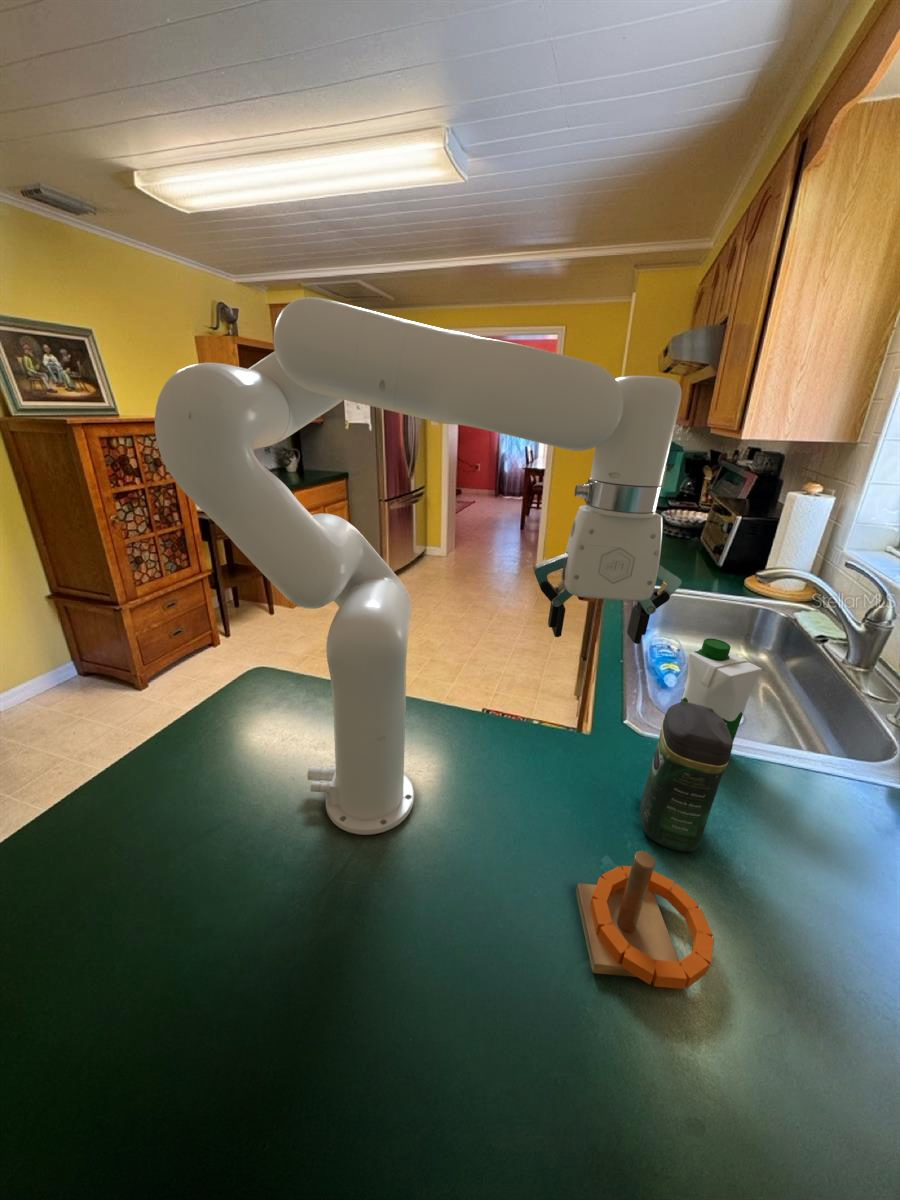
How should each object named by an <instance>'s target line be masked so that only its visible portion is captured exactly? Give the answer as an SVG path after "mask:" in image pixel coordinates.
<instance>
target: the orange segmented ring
mask: <svg viewBox="0 0 900 1200" xmlns="http://www.w3.org/2000/svg"><path fill="white" fill-rule="evenodd" d="M631 867H632V865H621V866H620V865H619V866H617V867H614V868H612V869H611V870H608V871H605V872H604V873H603V874H601V876H600V877H598V881H597V883H596V884H595V885H596V888H595V890H594V893H593V896H592V900H591V904H590V905H591V907H590V909H591V914H592V918H593V922H594V927H595V931H596V934H599V935H598V938H599V940H600V941H601V942H602V944H603V945H604V946H605V948H606V949H607V950H608V952H609V953H610V954H611V955H612V957H613V958H614V959H615V961H616V962H617V963H619V962H621V961H622V960H623V961H622V964H621V967H622V968H624V969H625V970H627V971H629V972H630V973H632V974H633V975H635V976H637V977H636V978H638V979H640V980H641V981H643V982H645V983H646V984H648V985H652V983H653V986H654V987H659V988H668V989H669V988H670V989H678V990H679V989H680V990H684V989H685V988H686V989H688V988H689V987H691V986H692V985H694V984H695V983H696V982H698V981H699V980H700V979H702V978H703V977H705V976H706V975H707V972H708V971H709V969H710V966H711V964H712V959H713V950H714V941H715V938H714V937H713V936H714V934H713V932H712V929H711V926H710V925H709V922H708V919H707V918H706V916H705V913H704V912H703V909H702V908H699V906H700V905H699V903H697V901H696V900H694V899H693V898H692V896H691V895H690V894H689V893H687V892H686V890H684V889H683V887H682V886H680V885H679V883H676V884H675V881H674V880H672V879H670V878H668V877H666V876H665V875H663V874H660V873H659V872H656V871H655V870H653V873H652V876H651V880H650V883H649V886H648V889H647V890H649V891H651V892H653V893H654V895H657V896H659V897H661V898H663V899H665V900H666V901H667V902H668V903H669V904H670V905H671V906H672V907H673V908H674V909H675V910H676V911H677V913H678V914H680V916H682V917H683V918H684V921H685V923H686V925H687V927H688V930H689V933H690V935H691V937H692V940H693V942H692V948H691V950H692V951H691V952H690V953H689V954H688V955H686V956H685V957H684V958H682V959H680V960H679V962H676V961H665V960H655V959H653V958H651V957H650V956H648V955H646V954H645V953H643V952H641V951H639V950H638V949H636V948H634V947H633V946H631V945H630V944H629V943H628V942H627V941H626V939H625V938H624V937H623V936H622V934H621V933H620V932H619V931H618V929H617V928H616V927H615V926H614V924H613V923H612V919H611V915H610V911H609V908H608V904H607V903H608V900H609V897H610V894H612V893H614V892H616V891H618V890H620V889H622V888H623V887H626V885H627V881H628V878H629V874H630V871H631Z"/></svg>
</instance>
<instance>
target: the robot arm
mask: <svg viewBox="0 0 900 1200" xmlns="http://www.w3.org/2000/svg"><path fill="white" fill-rule="evenodd" d="M273 349H274V351H273V352H271V353H270V354H268V355H267V356H265V357H264V358H262V359H260V360H259V361H258V362H256V363H255V364H253V365H252V366H250V367H249V368H245V367H240V366H236V365H232V364H227V363H221V362H220V363H219V362H201V363H200V362H199V363H195V364H190V365H188V366H185V367H183V368H181V369H178V370H177V371H176V372H175V373H173V374H172V375H171V376H170V377H169V378H168V379H167V381H166V382H165V383H164V385H163V387H162V388H161V390H160V393H159V396H158V398H157V401H156V406H155V411H154V412H155V413H154V433H155V439H156V443H157V444H156V445H157V448H158V451H159V455H160V456H161V459H162V461H163V464H164V466H165V468H166V469H167V471H168V473H169V474H170V475H171V478H172V479H173V480H174V482H175V484H177V486H178V487H179V488H180V489H181V491H182V492H183V493H184V494H185V495H186V496H187V497H188V498H189V499H190V500H191V501H192V502H193V503H194V504H195V505H196V506H197V507H198V508H199V509H200V510H201V511H202V512H203V513H204V514H206V516H208V518H209V519H211V520H212V521H213V522H214V523H215V524H216V526H217V527H219V529H221V531H223V532H224V534H225V535H226V536H227V537H228V538H229V539H230V540H231V541H232V542H233V543H234V545H235V546H236V547H237V548H238V549H239V550H240V551H241V552H242V554H244V556H245V557H246V558H247V559H248V560H249V561H250V562H251V563H252V564H253V565H254V566H255V567H256V569H258V570H259V572H260V573H261V574H262V575H263V576H264V577H265V578H266V579H267V580H268V581H269V582H270V583H271V584H272V586H273V587H274V588H275V589H277V590H278V592H279V593H280V594H281V595H282V596H284V598H286V599H287V600H288V601H289V602H291V603H292V604H294V605H295V606H297V607H300V608H303V609H308V610H309V609H311V610H317V609H321V608H323V607H325V606H327V605H329V604H331V603H333V602H334V603H335V604H336V605H337V607H338V609H337V611H336V613H335V614H334V615H333V619H332V621H331V623H330V626H329V629H328V633H327V637H326V646H325V647H326V648H325V651H326V661H327V667H328V671H329V676H330V687H331V695H332V696H331V697H332V699H331V700H332V715H333V731H334V732H333V734H334V735H333V736H334V737H333V738H334V761H335V763H334V765H332V766H330V768H329V767H323V766H316V765H315V766H313V765H311V766H309V768H308V770H307V775H306V776H307V780H308V781H312V782H311V784H310V792H313V793H314V792H315V793H325V794H326V795H325V810H326V814H327V816H328V817H329V819H330V820H331V821H332V823H333V824H334V825H335V826H337V827H338V828H339V829H341V830H343V831H345V832H347V833H351V834H355V835H362V836H363V835H364V836H367V835H368V836H369V835H376V834H380V833H384V832H387V831H389V830H391V829H392V830H393V828H395V827H397V826H399V825H400V824H401V823H402V822H403V821H404V820H406V818H407V817H408V815H409V814H410V813H411V811H412V809H413V806H414V801H415V791H414V786H413V783H412V781H411V779H409V777H408V776H407V775H406V774H405V745H406V743H405V741H406V714H407V713H406V710H407V709H406V708H407V707H406V705H407V704H406V703H407V661H408V659H407V658H408V645H409V636H410V629H411V620H412V611H413V607H412V598H411V595H410V593H409V591H408V589H407V587H406V586H405V584H404V583H403V582H402V580H401V579H400V578H399V577H398V575H397V574H396V573H395V572H394V571H393V569H392V568H391V567H390V566H389V565H388V564H387V562H386V561H385V560H384V559H383V557H382V556H380V554H379V552H377V551H376V550H375V547H373V546H372V544H371V543H370V542H369V541H368V540H367V539H366V537H365V536H364V535H363V534H362V533H361V532H360V530H359V529H357V528H356V527H355V526H354V525H353V524H351V522H349V521H348V520H346V519H345V518H342V517H341V516H338V515H335V514H332V513H324V512H323V513H322V512H321V513H315V514H314V513H313V514H311V513H310V512H309V510H308V509H306V507H305V506H304V505H303V504H302V503H301V502H300V501H299V500H298V499H297V498H296V496H295V495H294V494H293V492H292V491H291V490H290V488H289V487H288V486H287V485H286V484H285V483H284V482H283V481H282V480H281V479H280V478H279V477H278V476H276V475H275V474H274V473H273V472H271V471H270V470H269V469H268V468H266V466H264V465H263V464H262V463H261V462H260V461H259V460H258V458H257V457H256V455H255V453H254V450H256V449H262V448H268V447H270V446H274V445H276V444H278V443H280V442H282V441H284V440H286V439H287V438H289V437H290V436H292V435H294V434H295V433H297V432H298V431H299V430H302V429H303V428H305V426H307V425H309V424H310V423H312V422H313V421H315V420H317V419H318V418H319V417H321V416H322V415H324V414H325V413H327V412H329V411H331V410H332V409H333V408H335V407H336V406H338V405H339V404H340V403H342V402H343V401H347V402H351V403H356V404H360V405H365V406H368V407H372V408H378V409H381V410H385V411H389V412H394V413H397V414H402V415H406V416H409V417H413V418H418V419H422V420H426V421H430V422H435V423H438V424H444V425H458V426H465V427H469V428H475V429H480V430H484V431H489V432H494V433H498V434H501V435H505V436H509V437H514V438H518V439H521V440H522V439H523V440H526V441H531V442H535V443H539V444H543V445H547V446H551V447H554V448H558V449H563V450H566V451H571V452H583V451H588V450H591V449H594V453H593V459H592V464H591V471H590V478H588V479H587V482H586V483H583V484H576V485H575V488H574V497H575V498H580V499H583V500H584V502H585V505H580V506H579V508H578V509H577V513H576V515H575V518H574V521H573V524H572V527H571V530H570V534H569V537H568V541H567V545H566V548H565V552H564V553H563V554H561V555H558V556H555V557H553V558H550V559H547V560H545V561H543V562H540V563H538V564H535V565H534V566H533V568H532V569H533V574H534V575H535V578H536V581H537V583H538V586H539V589H540V591H541V592H542V594H544V596H545V597H546V598H547V600H549V602H550V607H549V613H548V618H547V619H548V620H547V625H548V628H551V630H552V633H553V636H554V638H560V637H562V633H563V626H564V621H565V614H566V607H565V602H567V601H568V600H569V599H570V598H572V596H574V597H575V596H576V597H580V598H586V599H587V598H588V599H598V600H600V599H601V600H610V601H611V600H612V601H623V602H637V603H636V604H633V606H632V609H631V613H630V617H629V622H628V626H627V630H626V635H628V637H629V639H630V640H631V641H632V643H634V644H636V645H640V644H641V641H642V637H643V636H645V635H646V633H647V629H648V625H649V621H650V617H651V615H654V614H655V613H656V611H657V609H658V608H660V607H661V606H662V605H664V604H665V603H667V602H668V601H669V600H671V599H670V598H671V596H672V595H674V593H675V592H676V591H677V590H678V588H679V587H680V586H681V585H682V579H681V578H679V577H678V576H677V575H676V574H674V573H673V572H671V571H669V570H668V569H667V568H665V567H663V566H661V565H660V561H661V553H662V552H661V551H662V541H663V515H662V514H660V513H657V512H656V511H657V506H658V502H659V497H660V493H661V488H662V484H663V479H664V475H665V471H666V465H667V461H668V457H669V453H670V448H671V444H672V440H673V435H674V431H675V427H676V423H677V418H678V414H679V409H680V405H681V399H682V387H681V385H680V383H678V381H677V380H675V379H674V378H673V379H672V378H669V377H662V376H656V375H655V376H653V375H652V376H651V375H625V376H618V377H616V378H615V376H613V374H612V373H611V372H610V371H608V370H607V369H605V368H604V367H603V366H600V365H598V364H596V363H593V362H590V361H587V360H583V359H579V358H576V357H572V356H569V355H565V354H560V353H557V352H553V351H548V350H545V349H541V348H537V347H533V346H529V345H523V344H520V343H515V342H509V341H504V340H500V339H493V338H489V337H482V336H478V335H474V334H470V333H467V332H461V331H457V330H450V329H445V328H441V327H437V326H433V325H428V324H424V323H420V322H416V321H413V320H409V319H404V318H401V317H398V316H397V317H396V316H393V315H389V314H385V313H382V312H377V311H374V310H371V309H367V308H363V307H358V306H354V305H351V304H348V303H344V302H339V301H336V300H333V299H327V298H321V297H316V296H315V297H302V298H298V299H295V300H293V301H291V302H290V303H288V304H287V305H285V307H284V308H283V309H282V310H281V312H280V313H279V314H278V317H277V319H276V322H275V324H274V329H273ZM559 570H561V580H562V581H560V582H559V583H558V584H557V585H556V586H555V587H554V586H553V585H552V583H551V582H550V581H549V578H548V576H549V574H552V573H555V572H558V571H559ZM657 579H659V580H661V581H662V584H661V585H660V588H659V587H658V588H657V589H656V590H655V587H656V584H657ZM322 781H323V782H322ZM324 781H325V782H324Z"/></svg>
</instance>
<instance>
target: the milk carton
mask: <svg viewBox="0 0 900 1200" xmlns="http://www.w3.org/2000/svg"><path fill="white" fill-rule="evenodd" d="M687 671H688V673H687V677H686V680H685V684H684V688H683V692H682V695H681V699H680V702H682V701H683V702H688V703H693V704H697V705H702V706H705V707H709V708H712V709H713V711H714V712H715V713H717V714H718V715H719V716H720V717H721V718H722V719H723V720H724V722H725V723H726V725H727V727H728V730H729V732H730V735H731V738H732V743H733V744H734V741H735V738H736V735H737V733H738V730H739V726H740V723H741V721H742V719H743V715H744V713H745V709H746V707H747V704H748V701H749V698H750V695H751V693H752V691H753V688H754V687H755V684H756V683H757V680H758V678H759V677H760V674H761V672H762V671H763V668H762V667H759V666H758V665H756V664H754V663H751V662H749V660H747V659H746V658H744V657H741V656H739V655H737V654H735V653H733V652H731V645H730V644H729V643H728V642H726V641H724V640H721V639H717V638H710V637H708V638H705V639H704V640H703V642H702V646H701V648H700V649H698V650H697V651H692V652H689V653H688V670H687Z"/></svg>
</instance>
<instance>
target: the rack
mask: <svg viewBox="0 0 900 1200" xmlns="http://www.w3.org/2000/svg"><path fill="white" fill-rule="evenodd" d="M655 865H656V860H655V858H654V857H653V855H652V854H651V853H649V852H647V851H645V850H638V851H636V852H635V854H634V857H633V860H632V864H631V866H632V867H631V871H630V874H629V878H628V881H627V885H626V887H623V888H622V889H620V890H618V891H616V892H614V893H612V894H610V897H609V900H608V903H607V904H608V908H609V911H610V915H611V919H612V923H613V924H614V926H615V927H616V928H617V929H618V931H619V932H620V933H621V934H622V936H623V937H624V938H625V939H626V941H627V942H628V943H629V944H630V945H631V946H633V947H634V948H636V949H638V950H639V951H641V952H643V953H645V954H646V955H648V956H650V957H651V958H653V959H655V960H665V961H676V962H679V961H680V960H679V958H678V955H677V953H676V950H675V947H674V944H673V942H672V939H671V936H670V934H669V930H668V927H667V925H666V922H665V920H664V917H663V914H662V911H661V910H660V906H659V904H658V901H657V899H656V896H655V895H656V894H655V893H653V892H651V891H649V890H647V889H648V886H649V883H650V880H651V876H652V873H653V871H655ZM596 885H597V884H591V883H581V882H580V883H579V882H577V884H576V887H575V888H576V889H575V896H576V900H577V906H578V910H579V915H580V920H581V924H582V928H583V929H582V930H583V933H584V937H585V943H586V944H585V945H586V947H587V948H586V949H587V952H588V957H589V963H590V969H591V972H592V973H593V974H600V975H610V976H611V975H612V976H622V977H633V978H638V977H637V976H635V975H633V974H632V973H630V972H629V971H627V970H625V969H624V968H622V967H621V964H622V961H623V960H622V961H621V962H619V963H617V962H616V961H615V959H614V958H613V957H612V955H611V954H610V953H609V952H608V950H607V949H606V948H605V946H604V945H603V944H602V942H601V941H600V940H599V938H598V935H599V934H596V931H595V927H594V922H593V918H592V914H591V909H590V907H591V905H590V904H591V900H592V896H593V893H594V890H595V888H596Z"/></svg>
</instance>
